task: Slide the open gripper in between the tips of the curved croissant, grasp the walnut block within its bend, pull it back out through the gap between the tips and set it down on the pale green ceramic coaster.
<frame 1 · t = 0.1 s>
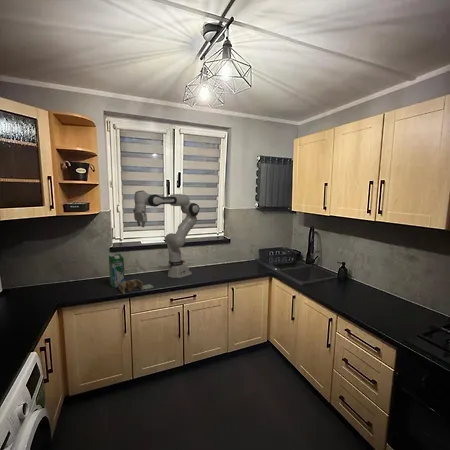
hand: (141, 226, 213), 48 cm above the worktop, fingers open, 8 cm apart
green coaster: (147, 287, 206), on the worktop
walnut block: (130, 285, 201), in the croissant
milk carton: (117, 285, 212), on the worktop
croissant: (130, 289, 202), on the worktop
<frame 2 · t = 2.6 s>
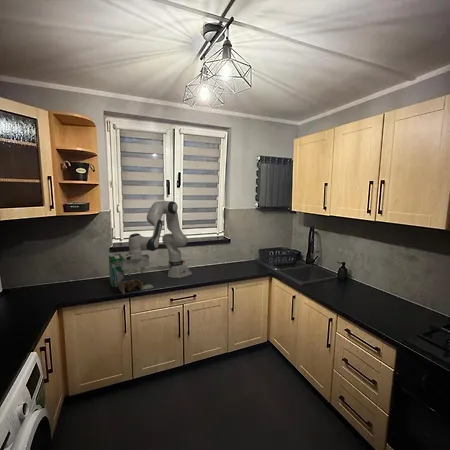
hand: (135, 274, 189), 16 cm above the worktop, fingers open, 8 cm apart
nothing on the worktop moved.
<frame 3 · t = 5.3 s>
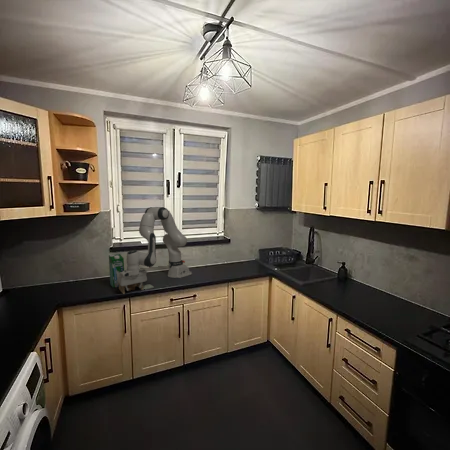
hand: (133, 289, 196), 2 cm above the worktop, fingers open, 8 cm apart
nothing on the worktop moved.
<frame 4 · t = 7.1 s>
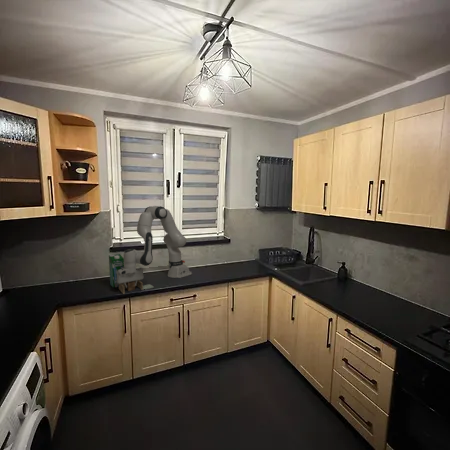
hand: (130, 286, 201), 2 cm above the worktop, fingers closed on walnut block, 5 cm apart
walnut block: (130, 285, 201), in the croissant, touching gripper
everything else where it was.
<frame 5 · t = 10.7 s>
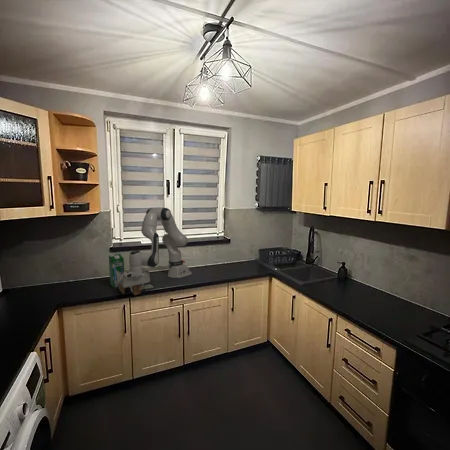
hand: (136, 290, 190), 3 cm above the worktop, fingers closed on walnut block, 5 cm apart
walnut block: (136, 289, 190), point 4 cm above the worktop, touching gripper
everything else where it was.
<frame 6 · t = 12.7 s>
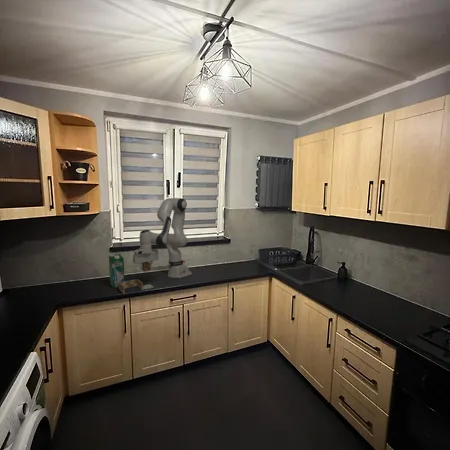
hand: (146, 267, 205), 17 cm above the worktop, fingers closed on walnut block, 5 cm apart
walnut block: (146, 266, 205), point 17 cm above the worktop, touching gripper
everything else where it was.
when the fingers open (4 cm above the worktop, at t = 14.5 s): walnut block stays where it is, resting on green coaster.
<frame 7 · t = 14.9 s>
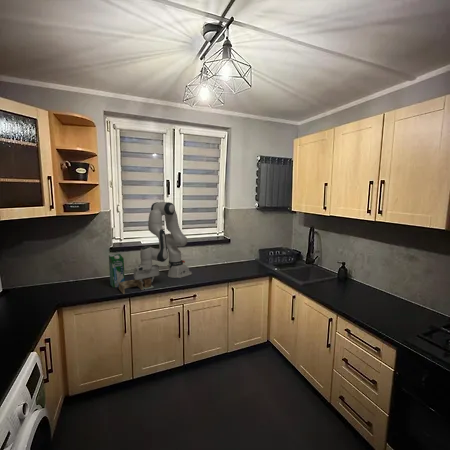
hand: (147, 282, 206), 4 cm above the worktop, fingers open, 6 cm apart
walnut block: (146, 282, 206), on the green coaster, point 4 cm above the worktop
everything else where it was.
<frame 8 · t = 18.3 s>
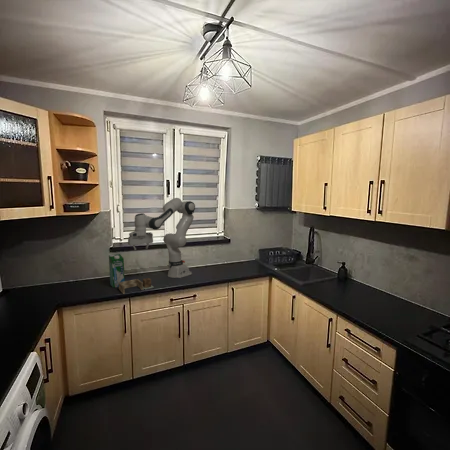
hand: (141, 249, 213), 29 cm above the worktop, fingers open, 8 cm apart
nothing on the worktop moved.
at the end: walnut block inside the target area on the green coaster (0.1 cm from its centre), point 3.6 cm above the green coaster's base; walnut block tilted 0°; the gripper is holding nothing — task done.
